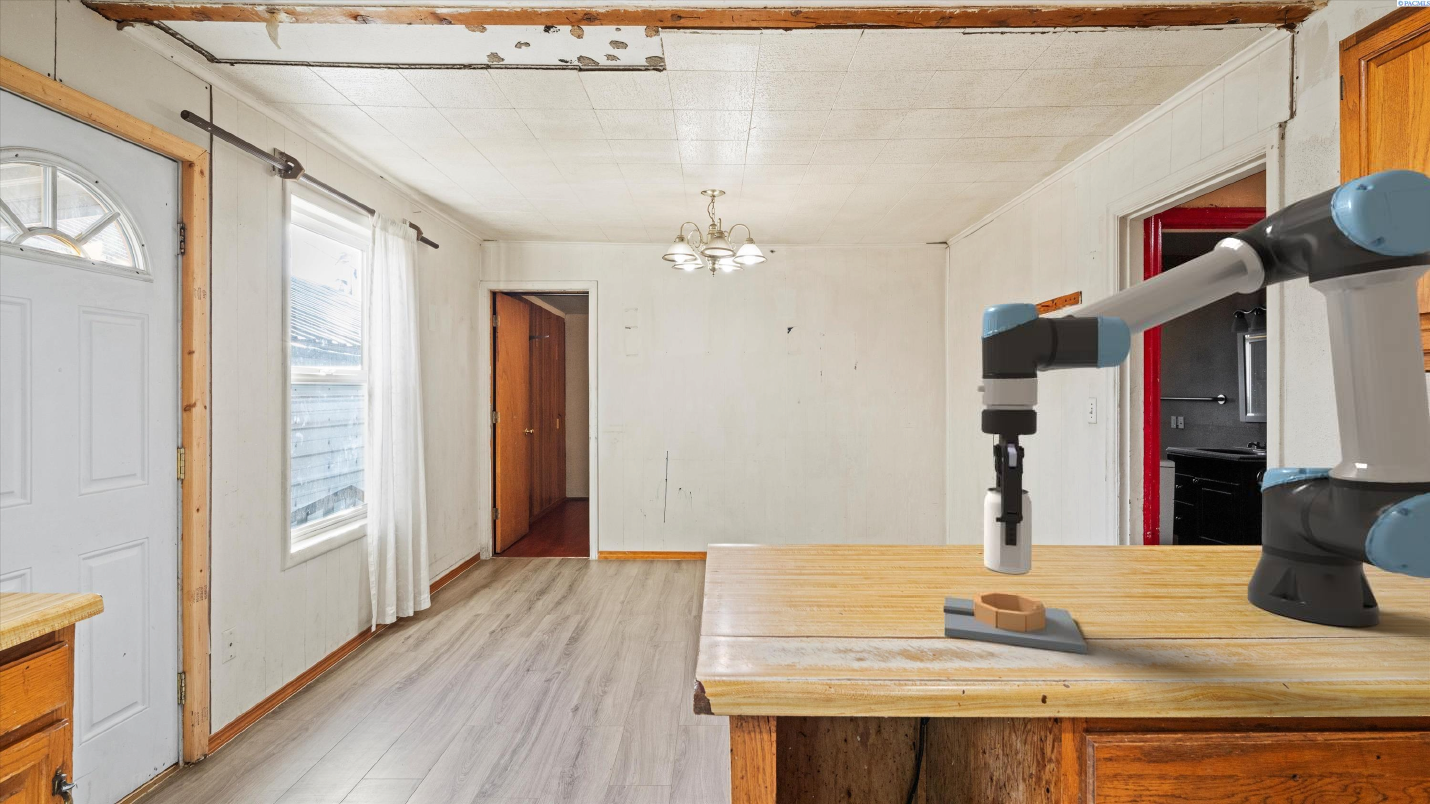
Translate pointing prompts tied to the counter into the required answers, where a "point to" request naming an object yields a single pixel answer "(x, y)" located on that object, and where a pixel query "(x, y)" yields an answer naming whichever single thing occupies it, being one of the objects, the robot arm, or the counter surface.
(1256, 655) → the counter surface
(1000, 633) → the board
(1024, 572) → the can
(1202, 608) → the counter surface
